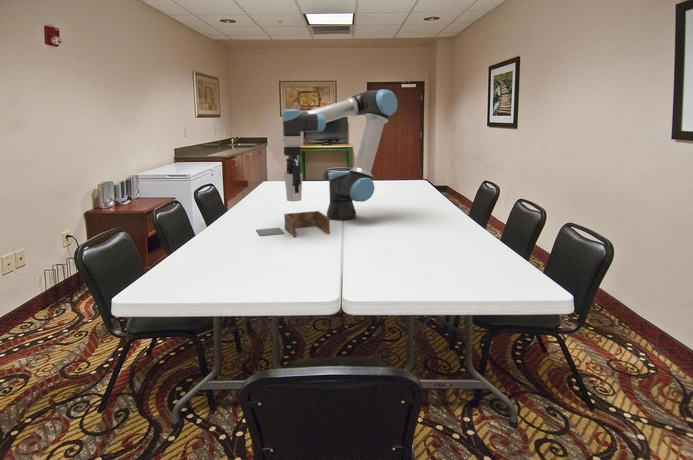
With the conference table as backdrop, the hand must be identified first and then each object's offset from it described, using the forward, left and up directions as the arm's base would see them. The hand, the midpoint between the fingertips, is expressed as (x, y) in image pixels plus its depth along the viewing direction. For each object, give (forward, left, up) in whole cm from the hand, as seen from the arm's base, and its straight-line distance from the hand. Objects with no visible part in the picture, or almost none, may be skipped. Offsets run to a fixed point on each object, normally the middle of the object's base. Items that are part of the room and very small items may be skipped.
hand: (294, 198), depth 210 cm
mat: (+11, -5, -16) cm, 19 cm away
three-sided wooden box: (-5, 0, -16) cm, 16 cm away
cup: (0, 0, -1) cm, 1 cm away
